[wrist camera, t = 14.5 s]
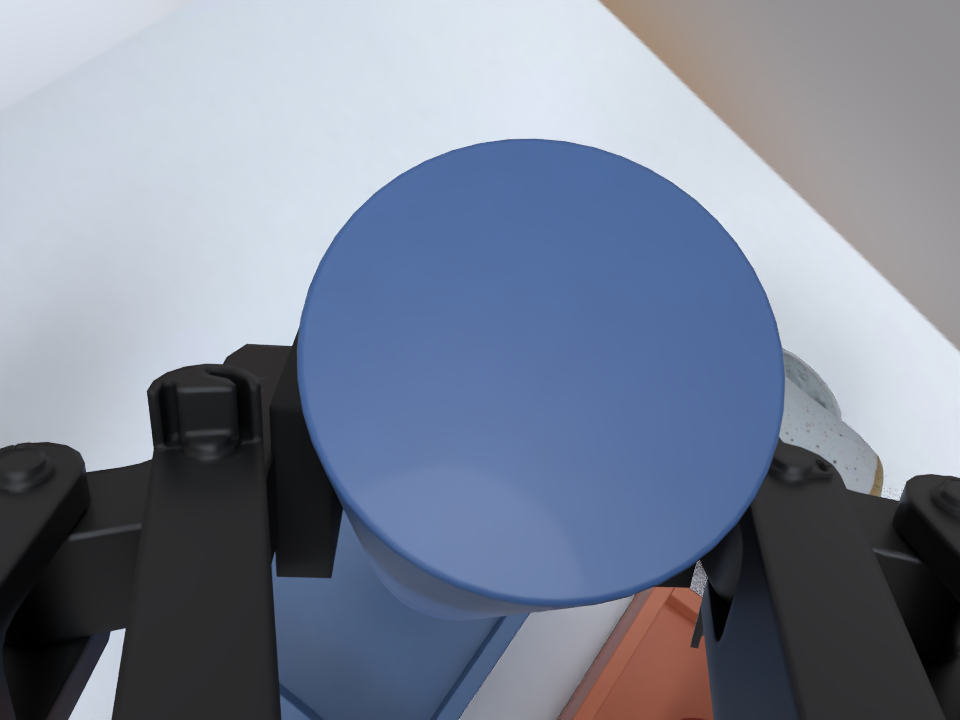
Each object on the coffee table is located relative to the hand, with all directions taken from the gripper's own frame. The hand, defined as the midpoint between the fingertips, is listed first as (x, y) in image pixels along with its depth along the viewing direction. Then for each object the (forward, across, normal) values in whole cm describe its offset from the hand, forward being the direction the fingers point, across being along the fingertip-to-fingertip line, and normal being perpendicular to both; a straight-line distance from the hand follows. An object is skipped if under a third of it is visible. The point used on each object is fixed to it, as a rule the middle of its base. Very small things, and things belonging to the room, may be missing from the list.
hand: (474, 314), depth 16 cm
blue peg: (0, 0, -5) cm, 5 cm away
